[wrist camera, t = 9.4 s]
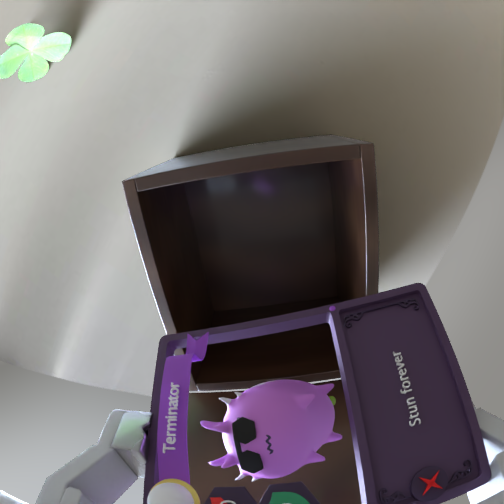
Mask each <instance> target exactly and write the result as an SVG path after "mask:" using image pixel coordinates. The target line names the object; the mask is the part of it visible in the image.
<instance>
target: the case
mask: <svg viewBox="0 0 504 504" xmlns="http://www.w3.org/2000/svg"><path fill="white" fill-rule="evenodd" d="M122 184H123V188H124V193H125V197H126V201H127V205H128V209H129V213H130V217H131V221H132V224H133V228H134V232H135V235H136V239H137V243H138V246H139V250H140V253H141V257H142V260H143V263H144V267H145V270H146V273H147V277H148V280H149V283H150V286H151V289H152V292H153V296H154V299H155V302H156V305H157V308H158V311H159V314H160V316H161V319H162V322H163V325H164V328H165V331H166V334H167V335H169V334H176V333H183V332H189V331H196V330H202V329H208V328H214V327H220V326H226V325H231V324H237V323H243V322H248V321H253V320H259V319H264V318H269V317H274V316H279V315H284V314H289V313H294V312H299V311H303V310H308V309H313V308H317V307H322V306H326V305H331V304H335V303H339V302H344V301H348V300H352V299H356V298H361V297H365V296H369V295H373V294H377V293H378V279H379V225H378V197H377V179H376V165H375V153H374V144H373V143H370V142H366V141H361V140H356V139H352V138H347V137H342V136H336V135H322V136H312V137H303V138H294V139H286V140H278V141H270V142H263V143H256V144H249V145H243V146H237V147H231V148H225V149H219V150H213V151H208V152H202V153H197V154H192V155H187V156H182V157H177V158H173V159H171V160H168V161H166V162H163V163H161V164H159V165H157V166H154V167H152V168H150V169H147V170H145V171H143V172H141V173H139V174H136V175H134V176H132V177H130V178H128V179H126V180H124V181H122ZM186 349H187V348H179V349H176V350H175V351H174V355H175V356H177V355H185V354H186ZM335 378H341V375H340V370H339V365H338V360H337V356H336V351H335V346H334V341H333V337H332V332H331V328H330V324H329V323H322V324H318V325H313V326H308V327H304V328H299V329H294V330H289V331H284V332H278V333H273V334H268V335H262V336H257V337H251V338H245V339H240V340H234V341H227V342H221V343H215V344H208V345H207V350H206V354H205V357H204V359H203V360H201V361H196V362H192V364H191V374H190V383H189V391H198V390H199V391H210V390H231V389H247V388H251V387H253V386H255V385H258V384H261V383H264V382H268V381H273V380H299V381H304V382H314V381H321V380H328V379H335Z"/></svg>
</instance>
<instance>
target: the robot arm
mask: <svg viewBox="0 0 504 504" xmlns="http://www.w3.org/2000/svg"><path fill="white" fill-rule="evenodd" d="M472 404H473V402H472ZM473 407H474V410H475V413H476V416H477V420H478V423H479V427H480V430H481V434H482V437H483V441H484V445H485V449H486V453H487V457H488V461H489V465H490V470H491V478H490V480H489V481H488V482H487V483H486V484H484V485H482V486H480V487H478V488H476V489H474V490H471V491H469V492H467V495H468V498H469V500H470V504H504V420H502V419H500V418H498V417H496V416H495V415H493V414H491V413H489V412H487V411H485V410H483V409H481V408H478V409H476V408H475V406H474V404H473ZM152 415H153V413H150V412H140V411H131V410H119V409H114V410H113V411H112V412H111V413H110V415H109V417H108V419H107V422H106V424H105V426H104V428H103V431H102V433H101V435H100V438H99V440H98V443H97V445H92V446H91V447H90V448H88V449H87V450H85V451H84V452H83V453H81V454H80V455H79V456H77V457H76V458H74V459H73V460H72V461H70V462H69V463H67V464H66V465H65V466H63V467H62V468H60V469H59V470H58V471H56V472H55V473H53V474H52V475H50V476H49V477H48V478H46V481H45V483H44V485H43V487H42V490H41V492H40V494H39V496H38V499H37V501H36V503H35V504H113V503H114V502H115V501H116V500H117V499H118V498H119V497H120V496H121V495H122V494H123V493H124V492H125V491H126V490H127V489H128V488H129V487H130V486H131V485H132V484H133V483H134V482H135V481H136V480H137V479H138V477H144V478H145V465H146V462H148V453H149V443H150V440H149V438H148V430H149V429H150V427H151V424H152ZM0 504H27V503H25V502H23V501H20V500H18V499H16V498H14V497H12V496H10V495H8V494H6V493H5V492H3V491H1V490H0Z"/></svg>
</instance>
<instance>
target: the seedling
mask: <svg viewBox="0 0 504 504" xmlns="http://www.w3.org/2000/svg"><path fill="white" fill-rule="evenodd" d="M44 32H45V31H44V28H43V27H42V26H40V25H37V24H30V23H27V24H24V25H21V26H18V27H16V28H15V29H13V30H12V31H11V32H10V33H9V34H8V36H7V38H6V44H7V45H9V46H10V48H9V49H8V50H7V51H6V52H5V53H4V54H3V55H1V56H0V78H3V79H5V78H8V77H10V76H11V75H12V74H14V72H15V71H17V69H18V67H19V66H20V65H21V63H22V62H23V60H24V59H25V60H24V62H23V64H22V66H21V67H20V69H19V72H18V77H19V79H20V80H21V81H24V82H32V81H34V80H37V79H40V78H42V77H43V76H44V75H45V74H46V73H47V72H48V69H49V65H48V62H47V61H46V60H49V61H52V62H58V61H61V60H62V58H63V57H64V55H65V54H67V53H68V52H69V50H70V46H71V37H70V36H69V35H68V34H66V33H64V32H56V33H51V34H48V35H46V36H43V34H44ZM42 36H43V37H42ZM35 44H36V45H35ZM45 59H46V60H45Z"/></svg>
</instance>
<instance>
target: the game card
mask: <svg viewBox="0 0 504 504" xmlns="http://www.w3.org/2000/svg"><path fill="white" fill-rule="evenodd" d="M322 323H329V324H330V328H331V332H332V337H333V341H334V346H335V351H336V356H337V360H338V365H339V370H340V375H341V380H342V385H343V391H344V396H345V401H346V406H347V412H348V418H349V423H350V429H351V435H352V441H353V447H354V453H355V460H356V466H357V473H358V480H359V487H360V494H361V502H362V504H440V503H442V502H445V501H447V500H450V499H452V498H455V497H458V496H460V495H462V494H465V493H467V492H469V491H471V490H474V489H476V488H478V487H480V486H482V485H484V484H486V483H487V482H488V481H489V480H490V478H491V470H490V465H489V461H488V457H487V453H486V449H485V445H484V441H483V437H482V434H481V430H480V427H479V423H478V420H477V416H476V413H475V410H474V407H473V404H472V401H471V397H470V394H469V392H468V389H467V386H466V383H465V380H464V377H463V374H462V372H461V369H460V366H459V364H458V361H457V358H456V356H455V353H454V351H453V348H452V346H451V343H450V341H449V338H448V336H447V334H446V331H445V329H444V327H443V324H442V322H441V320H440V317H439V315H438V313H437V310H436V308H435V306H434V304H433V302H432V300H431V298H430V295H429V293H428V291H427V289H426V287H425V285H423V284H421V283H415V284H411V285H408V286H404V287H400V288H396V289H392V290H389V291H385V292H381V293H377V294H373V295H369V296H365V297H361V298H356V299H352V300H348V301H344V302H339V303H335V304H331V305H326V306H322V307H317V308H313V309H308V310H303V311H299V312H294V313H289V314H284V315H279V316H274V317H269V318H264V319H259V320H253V321H248V322H243V323H237V324H231V325H226V326H220V327H214V328H208V329H202V330H196V331H189V332H183V333H176V334H169V335H165V336H163V337H162V338H161V339H160V342H159V348H158V355H157V362H156V369H155V377H154V384H153V392H152V401H151V410H150V413H153V415H152V424H151V427H150V429H149V430H148V438H149V440H150V443H149V453H148V462H146V465H145V481H144V498H143V504H200V499H199V496H198V494H197V492H196V491H195V490H194V488H193V487H192V486H191V485H190V474H189V463H188V449H187V415H188V397H189V383H190V374H191V364H192V362H196V361H201V360H203V359H204V357H205V354H206V350H207V345H208V344H215V343H221V342H227V341H234V340H240V339H245V338H251V337H257V336H262V335H268V334H273V333H278V332H284V331H289V330H294V329H299V328H304V327H308V326H313V325H318V324H322ZM179 348H187V349H186V354H185V355H177V356H174V351H175V350H176V349H179ZM333 387H334V384H332V383H330V384H324V385H318V386H316V385H313V384H310V383H308V382H304V381H299V380H273V381H268V382H264V383H261V384H258V385H255V386H253V387H251V388H249V389H247V390H246V391H244V392H243V393H239V392H234V393H235V394H236V395H237V398H236V399H229V398H224V397H221V398H219V399H220V400H222V401H224V402H225V403H226V404H227V409H228V410H227V412H226V415H225V417H224V421H223V422H211V421H201V422H200V424H201V425H202V426H203V427H204V428H207V429H210V430H214V431H218V432H222V436H223V442H224V445H225V448H226V450H227V452H228V453H227V455H225V456H223V457H221V458H219V459H216V460H214V461H211V462H209V464H210V465H212V466H221V468H228V467H231V466H233V465H236V464H237V465H238V466H239V469H240V472H241V474H240V475H239V476H238V477H237V478H236V479H235V480H240V479H242V478H244V477H245V476H247V475H251V476H252V477H253V479H252V482H253V481H256V480H257V479H260V478H270V479H273V478H280V477H283V476H286V475H289V474H291V473H293V472H295V471H296V470H298V469H299V468H300V467H302V466H303V465H305V464H309V463H314V462H321V461H325V457H324V456H322V455H320V454H318V453H316V451H317V450H318V449H319V448H320V447H321V446H322V445H323V444H325V443H328V442H333V441H337V440H340V439H342V435H341V434H338V433H334V432H333V431H332V429H333V425H334V420H335V411H334V405H335V403H336V399H335V397H333V396H329V397H328V395H327V393H328V392H329V391H331V390H332V389H333ZM204 504H257V503H256V501H255V500H254V499H253V497H252V496H251V494H250V493H249V492H248V490H247V489H246V487H245V486H240V487H214V489H213V490H212V492H211V493H210V495H209V497H208V498H207V500H206V501H205V503H204ZM259 504H320V502H319V501H318V500H317V499H316V498H315V497H314V495H313V494H312V493H311V492H310V491H309V489H308V488H307V487H306V486H305V485H304V483H303V482H302V481H300V482H292V483H282V484H272V485H269V487H268V488H267V490H266V492H265V494H264V495H263V497H262V499H261V501H260V502H259Z"/></svg>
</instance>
